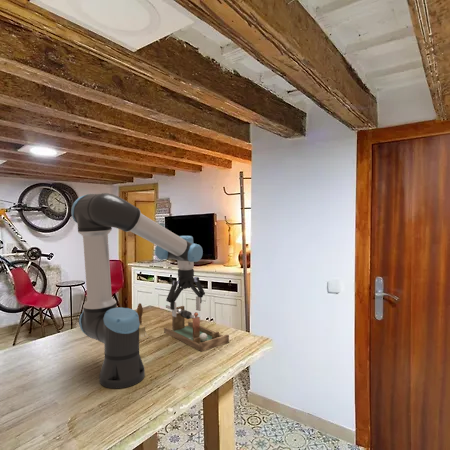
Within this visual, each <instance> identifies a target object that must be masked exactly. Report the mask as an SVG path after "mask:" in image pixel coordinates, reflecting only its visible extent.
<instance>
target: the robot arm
mask: <svg viewBox="0 0 450 450" xmlns="http://www.w3.org/2000/svg"><path fill="white" fill-rule="evenodd" d="M70 212H71V218H72V220H73V221H75V223H76V224H77V232H78V234H79V235H81V236H82V240H83V241H82V242H83V254H84V255H83V256H84V270H85V272H84V273H85V282H86V285H85V286H86V297H87V298H86V302H84V304H83V306H82V307H83V310H82V312H81V314H80V315H79V319H78V325H79V328H80V330H81V332H82V333H83V334H85V335H86V336H87V337H88V338H91V339H93V340H96V341H99V342H100V343H102V344H104V348H103V349H104V359H103V363H102V365H101V367H100V372H99V377H98V378H99V384H100V385H101V386H103V387H104V388H107V389H125V388H129V387H132V386H135V385H137V384H138V383H140V382H141V381H143V380H144V378H145V375H146V374H145V371H146V369H145V366H144V363H143V359H142V357H141V355H140V341H139V325H140V323H139V316H138V313H137V310H135V309H133V308H129V307H117V306H118V305H117V300H116V299H115V298H113V295H112V282H111V281H112V280H111V267H110V265H111V264H110V249H109V248H110V247H109V246H110V245H109V234H110V233H111V231H113V230H112V229H113V228H114V229H117V230H120V231H123V232H125V233H128V232H129V233H130V232H131V233H133V234H135V235H137V236H139V237H140V238H141V239H144V240H146V241H148V242H149V243H151V244H153V245H155V249H154V250H155V256H156V258H157V259H158V260H163V261H164V260H165V261H167V260H176V261H177V278H178V279H177V280H174V279H173V280H172V281H171V286H170V289H169V291H168V295H167V297H166V302H168V303H169V304H170V305H169V306H170V308H171V317H172V316H174V317H176V314H177V312H176V307H177V302H176V300H177V299H178V297H179V296H180V294H181V292H182V291H183V290H186V289H191V290H192V291H193V292H194V293H195V295H196V296H195V310H196V311H199V312H200V311H201V308H202V306H201V304H202V302H203V301H202V298H203V297H204V296H205V295H206V293H205V290H204V288H203V286H202V284H201V280H200V277H198V276H195V269H194V265H195V264H194V263H197V262H199V261H200V260H201V259H202V257H203V254H204V253H203V252H204V251H203V247H202V246H201V245H200V244H197V243H194V237H193V236H192V235H178V234H176V233H174V232H172V230H169V229H168V228H166V227H164V226H163V225H161V224H160V223H157V222H156V221H154V220H153V219H151V218H150V217H148V216H146V215H144V214H143V213H142V212H141V209H140V208H139V207H137V206H135V205H133V204H132V203H131V202H129V201H127V200H126V199H123V198H122V197H120V196H118V195H115V194H113V193H108V192H103V193H88V194H85V195H81V196H79V197H78V198H77V199H75V201H74V202H73V203H72V206H71V211H70ZM194 283H195V284H194Z"/></svg>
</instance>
